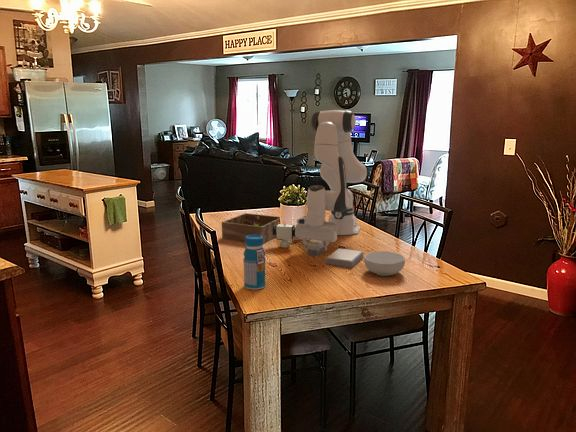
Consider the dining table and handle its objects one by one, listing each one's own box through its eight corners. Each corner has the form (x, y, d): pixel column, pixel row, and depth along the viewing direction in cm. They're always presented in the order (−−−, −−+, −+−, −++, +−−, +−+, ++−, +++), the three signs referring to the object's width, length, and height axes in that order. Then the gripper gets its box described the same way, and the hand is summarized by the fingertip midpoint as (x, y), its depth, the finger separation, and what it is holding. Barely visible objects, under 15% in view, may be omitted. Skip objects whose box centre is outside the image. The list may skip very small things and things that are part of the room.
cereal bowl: (372, 263, 210) (373, 248, 208) (409, 270, 202) (410, 254, 200) (357, 275, 196) (358, 259, 194) (396, 282, 187) (397, 266, 186)
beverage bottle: (243, 290, 179) (242, 239, 175) (244, 282, 188) (243, 233, 183) (265, 290, 180) (265, 239, 175) (265, 282, 188) (265, 233, 183)
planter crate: (245, 228, 270) (245, 213, 268) (283, 233, 260) (283, 217, 258) (222, 238, 249) (221, 222, 247) (262, 244, 239) (261, 227, 237)
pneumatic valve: (295, 248, 232) (295, 225, 229) (272, 247, 234) (272, 223, 231) (297, 245, 237) (297, 222, 234) (275, 244, 239) (274, 221, 237)
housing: (313, 250, 229) (314, 238, 228) (323, 252, 227) (323, 240, 226) (307, 255, 222) (307, 243, 221) (317, 256, 220) (317, 244, 218)
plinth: (338, 253, 224) (338, 247, 223) (362, 257, 219) (363, 251, 218) (325, 263, 210) (326, 257, 209) (351, 267, 205) (352, 261, 204)
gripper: (339, 221, 219) (338, 249, 222) (299, 216, 228) (299, 244, 231) (334, 224, 214) (333, 253, 217) (293, 219, 222) (293, 247, 225)
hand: (315, 248), depth 224 cm, fingers open, 8 cm apart
